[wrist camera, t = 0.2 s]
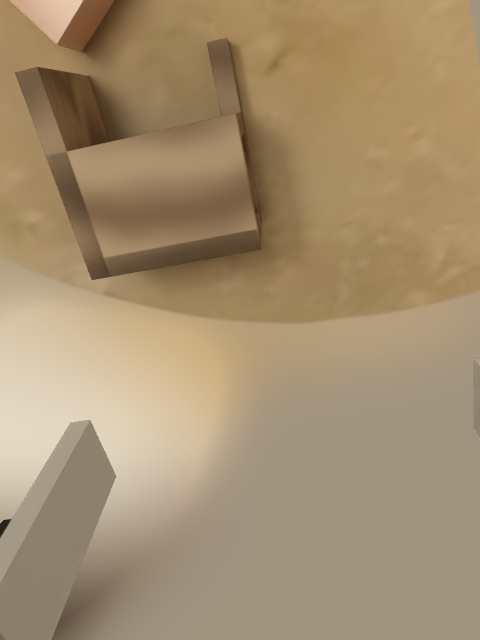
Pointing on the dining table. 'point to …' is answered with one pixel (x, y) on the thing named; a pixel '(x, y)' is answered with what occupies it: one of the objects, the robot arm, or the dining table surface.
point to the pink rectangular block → (66, 19)
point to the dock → (147, 176)
